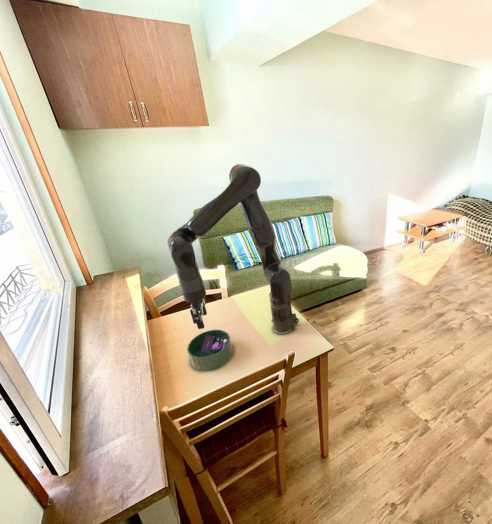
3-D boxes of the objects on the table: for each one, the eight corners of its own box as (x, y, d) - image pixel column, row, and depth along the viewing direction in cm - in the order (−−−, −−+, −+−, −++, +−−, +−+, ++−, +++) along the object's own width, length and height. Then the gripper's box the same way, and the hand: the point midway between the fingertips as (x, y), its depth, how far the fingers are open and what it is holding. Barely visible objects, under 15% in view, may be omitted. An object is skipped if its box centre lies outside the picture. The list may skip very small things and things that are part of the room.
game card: (206, 334, 115) (228, 339, 118) (206, 335, 119) (227, 339, 122) (200, 351, 112) (223, 355, 115) (201, 351, 117) (223, 355, 120)
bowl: (233, 338, 126) (230, 326, 123) (232, 365, 112) (228, 352, 109) (194, 346, 122) (190, 333, 119) (188, 374, 108) (183, 362, 105)
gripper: (201, 295, 96) (211, 331, 104) (205, 275, 108) (214, 308, 116) (177, 299, 94) (189, 335, 102) (184, 278, 106) (195, 312, 114)
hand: (202, 321), depth 109 cm, fingers open, 8 cm apart
